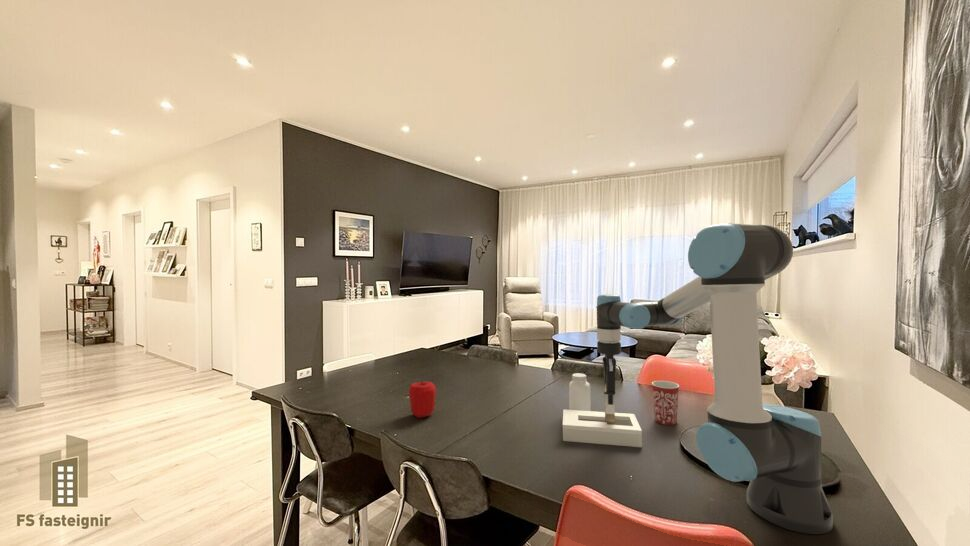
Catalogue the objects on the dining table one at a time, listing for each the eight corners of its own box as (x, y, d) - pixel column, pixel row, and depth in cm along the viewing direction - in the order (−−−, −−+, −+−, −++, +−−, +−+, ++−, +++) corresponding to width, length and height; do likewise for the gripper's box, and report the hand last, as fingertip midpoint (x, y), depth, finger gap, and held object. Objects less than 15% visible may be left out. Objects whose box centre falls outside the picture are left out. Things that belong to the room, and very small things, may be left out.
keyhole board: (641, 447, 117) (641, 430, 117) (562, 440, 123) (562, 424, 123) (634, 429, 131) (634, 414, 131) (563, 423, 136) (563, 409, 136)
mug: (677, 428, 131) (676, 389, 131) (649, 422, 137) (649, 385, 137) (683, 417, 141) (683, 380, 141) (657, 411, 147) (657, 377, 147)
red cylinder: (428, 422, 139) (427, 385, 139) (404, 419, 142) (403, 383, 142) (440, 412, 149) (440, 377, 149) (417, 409, 152) (417, 375, 152)
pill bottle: (566, 415, 144) (566, 376, 144) (572, 408, 151) (571, 371, 151) (587, 419, 140) (587, 378, 140) (592, 412, 147) (592, 373, 147)
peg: (619, 438, 123) (619, 387, 123) (601, 436, 124) (601, 386, 124) (617, 431, 128) (617, 382, 128) (600, 429, 130) (600, 381, 129)
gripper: (624, 346, 117) (624, 421, 117) (617, 337, 133) (618, 404, 133) (598, 345, 119) (599, 419, 119) (595, 336, 135) (596, 402, 135)
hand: (609, 411), depth 126 cm, fingers closed on peg, 3 cm apart
